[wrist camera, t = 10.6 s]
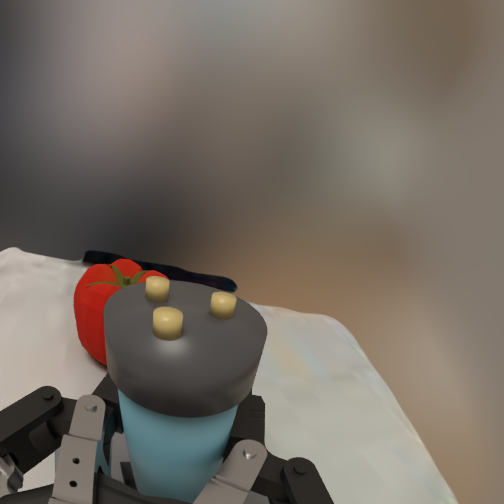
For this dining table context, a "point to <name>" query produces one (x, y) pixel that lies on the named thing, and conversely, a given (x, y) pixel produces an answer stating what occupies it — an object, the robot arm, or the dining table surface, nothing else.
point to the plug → (179, 378)
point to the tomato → (102, 300)
